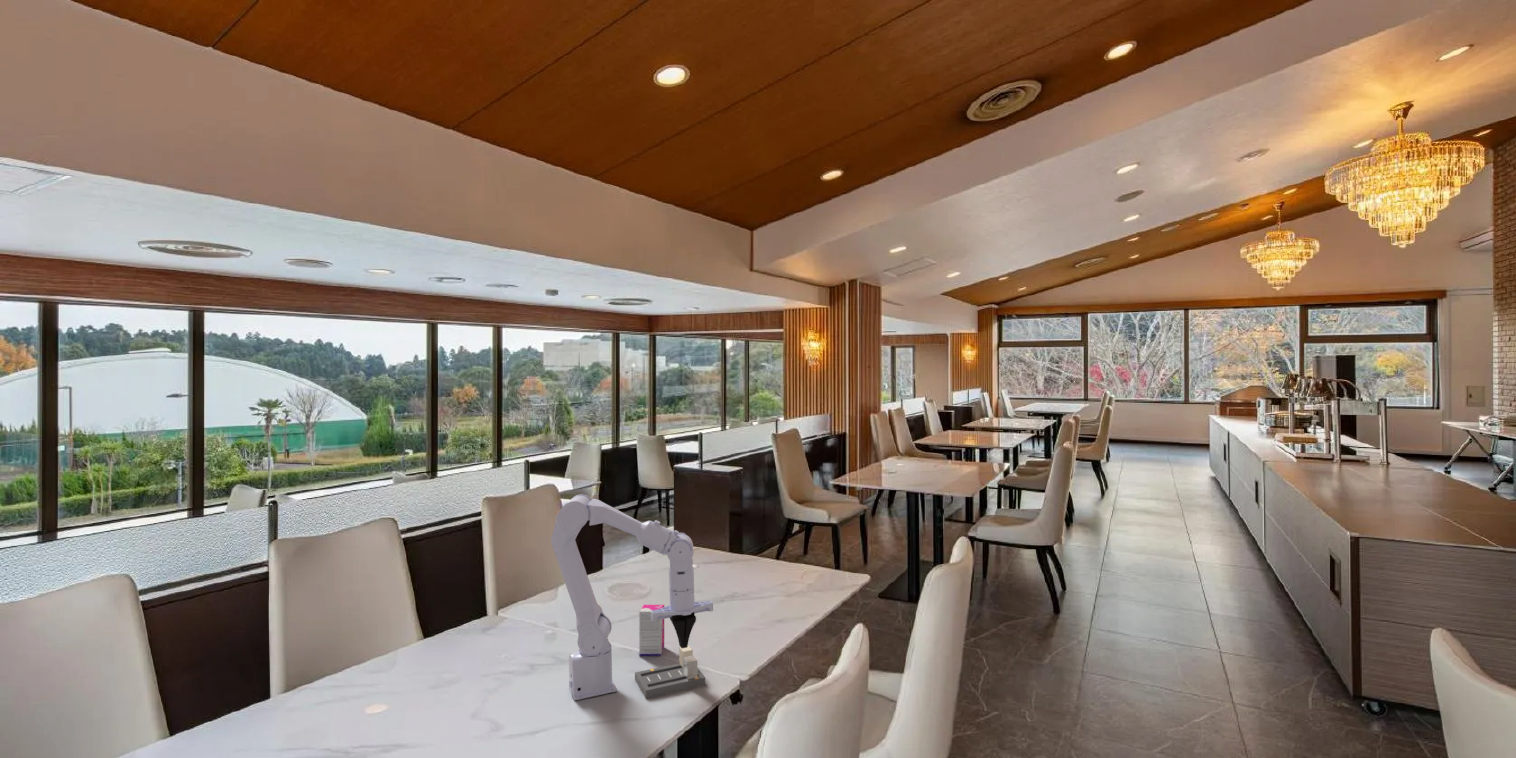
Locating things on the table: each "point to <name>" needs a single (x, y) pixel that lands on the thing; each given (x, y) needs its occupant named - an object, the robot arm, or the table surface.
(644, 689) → the console
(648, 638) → the supplement box
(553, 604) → the table surface
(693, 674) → the fader near
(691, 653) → the fader far
